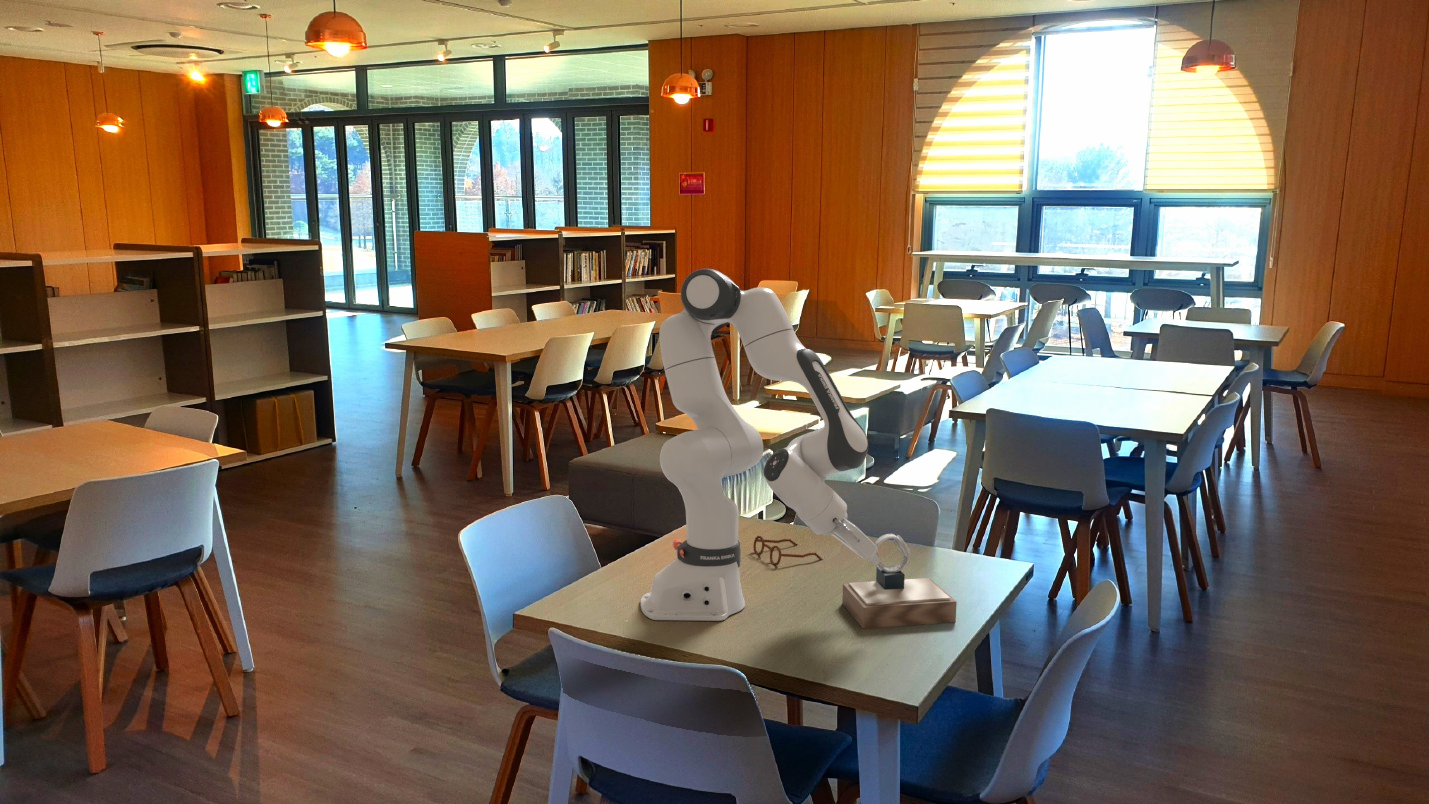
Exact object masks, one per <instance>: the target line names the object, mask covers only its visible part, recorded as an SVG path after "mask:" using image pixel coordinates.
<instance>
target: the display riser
mask: <svg viewBox="0 0 1429 804" xmlns="http://www.w3.org/2000/svg"><path fill="white" fill-rule="evenodd" d="M841 600H842V605H843V606H844V608H845V609H846V608H847V609H846V610H847V611H848V612H849V614H851V616H852V617H853V618H854V619H855V621H856V622H857V623H858V624H859V625H860V627H861V628H862V629H876V628H891V627H904V626H917V625H918V626H921V625H935V624H947V623H948V624H949V623H956V619H957V604H958V603H957V602H958V601H957V600H955V598H953V597H952V595H950V594H949V593H948V592H946V591H945V590H944V589H943V588H942V587H941V586H939V584H937V583H936V582H935V581H934V580H933V579H932V578H929V577H922V578H906V579H905V578H904V589H888V590H884V589H883V587H882V586H881V585H880V584H879V583H878V582H877V581H876V580H873V581H857V582H848V583H842V599H841Z"/></svg>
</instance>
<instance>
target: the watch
mask: <svg viewBox="0 0 1429 804" xmlns="http://www.w3.org/2000/svg"><path fill="white" fill-rule="evenodd" d="M889 539H890V540H891V539H893V542H894V545H895V547H896V548H897V550H898V552H900V554H901V555H902V557H903V558H902V559H901V561H900V562H899V563H898V564H897V565H887V566H884V564H883V563H882V560H881V561H880V563H879V564H878V565H877V566H876V570H875V571H876V574H875V576H876V577H875V578H876V579H875V581H877V582H878V583H879V584H880V585H881V586H882V587H883V589H884V590H888V589H904V579H905V573H904V572H902V570H903V569H904V568H905V567H906V566H907V565H908V563H909V562H910V559H911V558H910V556H911V555H912V554H911V550H910V548H909V546H908V545H907V543H906V542H905V541H904V539H903V538H902V536H901V535H899V534H897V535H895V533H886V534H883V535H881V536H879V537H878V538H877V539H876V540H875V542H873V543H874V544H875V545H876V546H877V548H878V549H879V547H880V546H881V544H883V543H884V542H885V541H887V540H889ZM878 551H879V550H877V551H876V555H877V556H878V557H879V558H880V556H879V552H878Z"/></svg>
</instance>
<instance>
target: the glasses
mask: <svg viewBox="0 0 1429 804" xmlns="http://www.w3.org/2000/svg"><path fill="white" fill-rule="evenodd" d="M785 542H790V544H792V545H793V546H795V545H796V546H798V544H797V543H796V542H795V541H793V540H792V539H790V538H782V539H764V538H763V536H761V535H757V536H756V537H755V538H754V541H753V552H754V553H755V555H758V556H761V555H762V554H763V553H764V549H765V548H767V549H768V550H769V562H770V563H771V565H773V564H774V565H773V566H775V565H777V566H778V565H779V564H780V562H781V560H782V559H781V558H782V557H787V558H803V559H804V558H805V557H809V556H815V557H816V558H818V560H820V561H822V560H823V558H822V557H821V556H820V555H819V554H818V553H816V552H807V553H804V554H795V553H793V554H792V553H782V550H781V548H780V547H779V546H778V545H773V546H772V547H771V546H770V545H768V544H766V543H770V544H780V543H785ZM757 543H761V549H760V551H759V552H758V551H757V547H756V546H757ZM775 549H776V550H777V552H778V559H777V561H776V562H774V560H773V553H774V550H775Z"/></svg>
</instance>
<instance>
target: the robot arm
mask: <svg viewBox="0 0 1429 804" xmlns="http://www.w3.org/2000/svg"><path fill="white" fill-rule="evenodd" d="M680 300H681V303H682V306H683V310H682V311H680V312H679V313H676V314H673V315H670V316H669V317H667V318H666V319H664V320H663V322H661V325H660V327H659V333H658V335H659V344H660V345H659V347H660V354H661V361H662V365H663V370H664V373H665V377H666V381H667V386H668V389H669V393H670V397H671V401H672V403H673V404H672V405H674V407H675V408H676V409H677V410H678V411H680V412H681V413H683V414H686V415H687V416H688V417H689V418H690V419H691V420H692V422H693V423H694V425H695V426H696V428H697V429H695V430H694V429H693V430H689V431H685V432H682V433H680V434H678V435H676V436H675V435H674V437H673V436H672V438H670V439H667V440H666V441H665V442H664V443H663V445H662V446H661V450H660V453H659V463H660V467H661V471H662V473H663V474H664V476H665V478H667V480H668V481H669V482H671V483H672V484H673V485H675V486H676V487H677V489H678V490H679V493H680V494H681V496H682V500H683V502H684V503H683V504H684V508H685V518H686V519H685V520H686V522H685V523H686V539H685V540H684V541H683V542H682V541H681V539H678V538H676V539H674V540H673V541H672V547H673V548H674V550H675V551H676V559H674V560H673V561H671V562H670V563H669V564H668V565H666V566H664V567H663V568H662V569H661V570H660V571H658V572H656V574H655V575H654V577H653V580H652V583H651V588H650V592H646V593H645V594H644V595H642V596H641V599H640V610H641V612H642V613H643V615H644V616H645V617H647V618H649V619H651V620H653V621H654V620H655V621H709V622H710V621H711V622H713V621H719V622H720V621H724V620H726V619H727V618H729V616H731V615H733V614H735V613H738V612H740V611H742V610H743V609H744V608H745V607H746V601H745V599H744V594H743V590H742V584H741V577H740V567H741V561H742V560H741V559H742V558H741V555H742V552H741V551H742V550H741V548H742V547H741V542H740V540H739V507H738V505H737V503H736V502H735V501H734V500H733V499H731V498H730V497H729V496H727V495H725V493H724V490H723V484H722V483H723V482H722V480H723V478H726V477H730V476H733V475H734V476H735V475H739V474H741V473H744V472H746V471H748V470H749V469H752V468H753V467H755V466H756V465H757V464H759V463H760V461H761V459H762V457H763V454H764V442H763V439H762V435H761V434H760V432H759V431H758V429H757V428H755V426H753V425H751V424H749V423H748V422H747V421H745V420H744V419H743V418H742V417H741V416H740V415H739V413H738V412H737V410H736V409H735V408H734V406H733V405H732V403H731V401H730V400H729V397H728V395H727V393H726V391H725V388H724V385H723V382H722V377H721V375H720V372H719V368H718V364H717V360H716V357H715V353H714V350H713V345H712V339H711V338H712V335H713V334H715V333H717V332H719V331H720V330H722V329H723V328H725V327H726V326H728V325H729V324H732V325H733V327H735V329H736V330H737V333H738V335H739V337H740V341H741V344H742V345H743V348H744V352H745V354H746V357H747V360H748V362H749V364H750V367H752V369H753V371H755V373H757V374H758V375H760V376H761V377H762V378H765V379H768V380H772V381H777V382H794V383H797V384H799V385H800V386H802V387H804V389H806V391H807V392H808V394H809V396H810V398H811V400H812V402H813V403H814V405H815V406H816V409H817V411H818V413H819V414H820V417H821V418H822V420H823V422H824V426H823V427H820V428H818V429H815V430H814V431H813V430H812V431H810V432H807V433H804V434H802V435H799V436H797V437H796V438H793V439H792V440H790V442H788V443H787V445H786V447H784V448H780V449H777V450H776V451H774V452H773V453H772V454H771V455H770V456H769V457H768V458H767V461H766V462H765V465H764V468H763V477H764V479H765V482H766V483H767V485H768V487H769V488H770V489H771V491H772V492H773V493H774V494H775V495H776V496H777V497H778V499H780V501H781V502H783V503H784V504H785V506H787V507H788V508H790V509H792V510H793V511H794V512H795V513H796V515H797V517H798V518H799V519H800V520H801V521H802V522H803V523H804V524H805V525H806V526H807V527H808V528H809V529H810V530H811V531H812V532H813V533H814V534H816V535H818V536H821V535H825V536H832V537H834V538H835V539H836V540H838V541H839V542H840V543H842V544H843V545H844V546H845V547H847V548H848V549H850V550H851V551H852V552H853V553H854V554H856V555H858V557H860V558H862V560H864V561H869V562H870V563H871V564H872V565H873V566H874V567H875V566H876V567H877V566H878V564H879V563H880V561H881V562H882V560H881V558H880V556H879V557H878V556H877V555H876V551H879V547H878V548H877V546H876V545H875V544H874V543H875V542H873V541H872V540H871V539H870V538H869V537H868V536H867V535H866V534H865V533H864V532H863V531H862V530H861V529H860V528H859V527H858V526H856V525H855V524H854V523H852V522H851V521H850V520H848V513H847V511H848V505H847V503H846V501H844V499H842V497H841V496H839V494H838V493H837V492H836V491H835V490H834V489H833V488H831V486H829V485H828V484H826V479H827V477H829V476H831V475H834V474H838V473H840V472H845V471H849V470H854V469H858V468H860V467H861V466H862V465H863V463H864V462H865V460H866V458H867V456H868V451H869V439H868V436H867V434H866V432H865V430H864V429H863V428H862V425H860V423H859V422H858V421H857V419H855V418H856V417H854V415H853V414H852V412H851V410H850V409H849V407H848V406H847V404H846V402H845V400H844V398H843V396H842V394H841V392H840V391H839V389H838V387H837V386H836V383H835V382H834V380H833V377H832V376H831V374H830V373H829V371H828V369H827V367H826V366H825V364H824V363H823V361H822V360H821V358H820V356H818V354H817V353H816V352H815V351H814V350H812V349H808V348H806V347H805V346H804V345H803V343H801V341H800V340H799V338H798V336H797V335H796V332H795V328H794V327H793V324H792V322H791V320H790V317H789V314H787V311H786V309H785V307H784V306H783V304H782V302H781V300H780V299H779V297H778V295H777V294H776V293H775V291H773V290H772V289H771V288H767V287H762V286H761V287H759V286H758V287H753V288H750V289H748V290H741V288H740V287H739V286H738V285H736V283H735V282H734V281H733V280H732V279H731V278H730V277H729V276H728V275H726V274H724V273H722V272H720V271H719V270H717V269H712V268H701V269H697V270H695V271H693V272H691V273H690V274H689V275H687V276H686V278H685V279H684V280H683V283H682V285H681V289H680Z"/></svg>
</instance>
